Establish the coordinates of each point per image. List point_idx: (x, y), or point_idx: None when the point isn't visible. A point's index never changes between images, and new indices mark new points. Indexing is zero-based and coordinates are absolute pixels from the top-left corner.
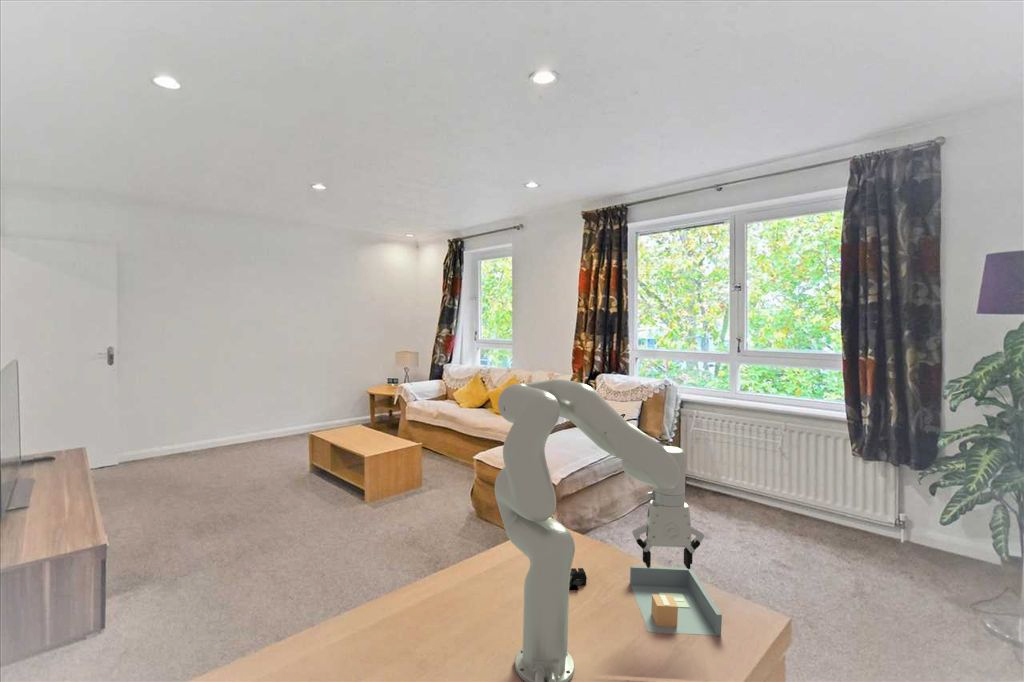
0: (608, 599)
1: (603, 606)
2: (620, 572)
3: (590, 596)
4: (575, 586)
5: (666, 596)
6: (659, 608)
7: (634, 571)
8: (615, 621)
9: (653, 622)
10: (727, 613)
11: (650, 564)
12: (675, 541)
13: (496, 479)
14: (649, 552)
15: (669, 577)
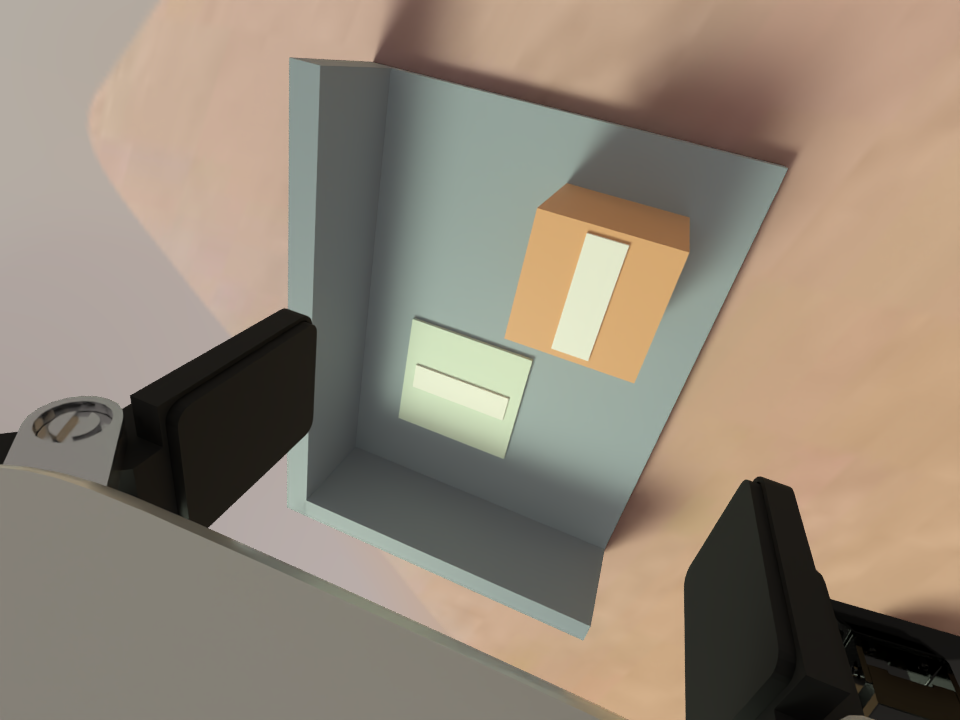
0: None
1: (878, 471)
2: None
3: (888, 562)
4: (922, 650)
5: (548, 336)
6: (671, 240)
7: (575, 599)
8: (915, 334)
9: None
10: (265, 250)
11: (755, 503)
12: (149, 698)
13: None
14: (819, 681)
15: (411, 507)
